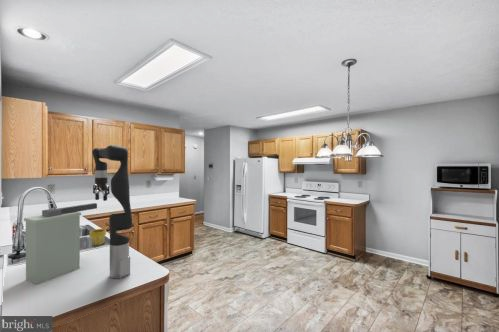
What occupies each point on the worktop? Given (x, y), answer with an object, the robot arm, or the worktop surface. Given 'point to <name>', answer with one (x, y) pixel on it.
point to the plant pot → (98, 236)
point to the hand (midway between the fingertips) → (101, 200)
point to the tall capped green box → (52, 246)
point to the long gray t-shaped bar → (68, 210)
